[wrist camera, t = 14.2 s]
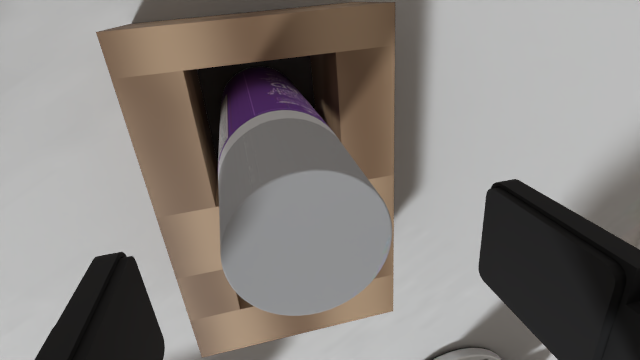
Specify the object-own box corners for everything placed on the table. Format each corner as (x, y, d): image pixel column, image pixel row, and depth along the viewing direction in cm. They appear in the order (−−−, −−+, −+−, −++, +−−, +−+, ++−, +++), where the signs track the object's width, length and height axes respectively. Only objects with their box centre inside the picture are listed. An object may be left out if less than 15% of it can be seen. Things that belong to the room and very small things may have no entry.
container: (299, 65, 22) (408, 158, 9) (298, 140, 24) (387, 307, 11) (217, 65, 21) (206, 170, 8) (223, 144, 23) (222, 332, 10)
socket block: (352, 2, 21) (394, 2, 16) (362, 255, 29) (393, 310, 24) (130, 23, 19) (95, 32, 14) (206, 289, 27) (202, 357, 22)
